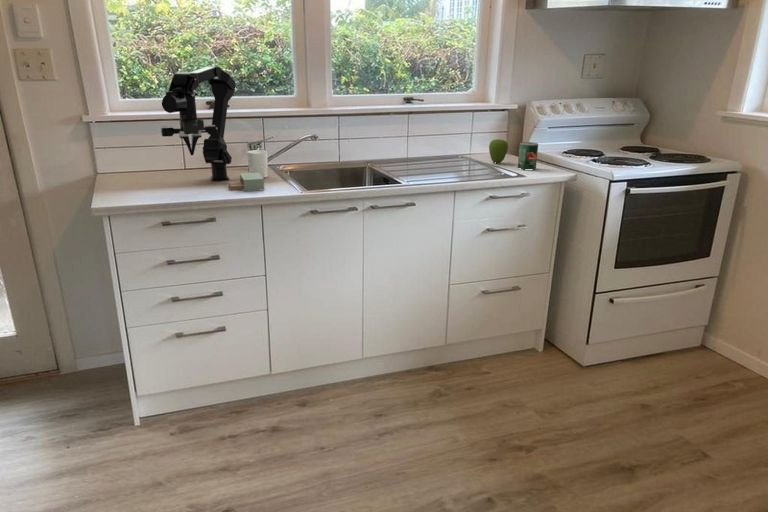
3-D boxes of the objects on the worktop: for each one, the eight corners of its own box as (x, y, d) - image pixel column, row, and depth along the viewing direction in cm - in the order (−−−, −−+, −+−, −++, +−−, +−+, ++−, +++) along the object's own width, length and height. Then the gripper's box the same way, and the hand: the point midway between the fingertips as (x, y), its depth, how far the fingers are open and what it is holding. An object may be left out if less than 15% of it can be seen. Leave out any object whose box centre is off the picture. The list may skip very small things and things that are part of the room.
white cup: (247, 175, 235) (245, 150, 232) (266, 174, 238) (265, 149, 235) (250, 179, 228) (248, 153, 225) (270, 178, 231) (269, 152, 228)
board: (228, 187, 216) (228, 182, 216) (256, 185, 220) (255, 180, 219) (230, 191, 210) (230, 186, 210) (259, 189, 214) (258, 184, 213)
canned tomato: (532, 171, 251) (535, 145, 248) (515, 169, 255) (517, 143, 251) (538, 168, 258) (540, 143, 254) (520, 166, 262) (522, 141, 258)
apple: (506, 165, 263) (508, 139, 259) (487, 164, 265) (489, 138, 261) (507, 162, 271) (509, 137, 267) (488, 161, 273) (490, 136, 269)
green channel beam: (240, 184, 220) (239, 173, 218) (259, 183, 222) (258, 172, 221) (244, 191, 209) (243, 179, 208) (264, 189, 211) (263, 178, 210)
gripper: (160, 113, 193) (165, 160, 199) (218, 111, 200) (222, 157, 205) (158, 110, 203) (163, 155, 208) (214, 108, 210) (217, 152, 215)
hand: (192, 155), depth 209 cm, fingers closed
